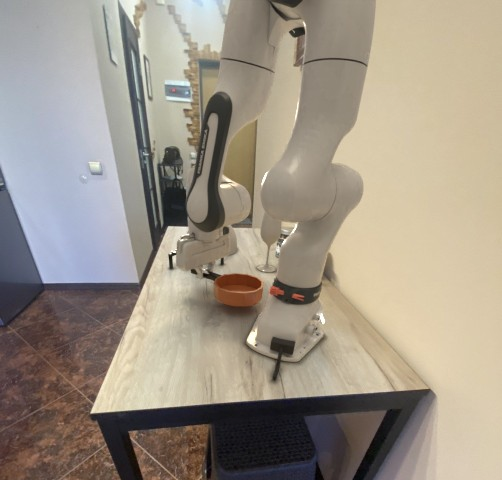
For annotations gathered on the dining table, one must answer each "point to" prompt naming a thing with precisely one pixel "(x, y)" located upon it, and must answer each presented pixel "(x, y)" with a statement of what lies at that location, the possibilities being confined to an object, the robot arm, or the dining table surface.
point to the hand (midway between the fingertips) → (205, 276)
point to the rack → (175, 254)
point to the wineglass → (269, 237)
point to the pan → (235, 288)
